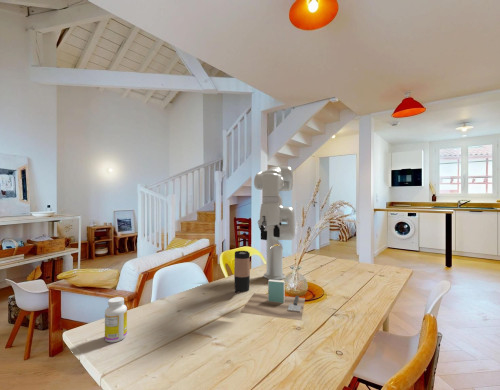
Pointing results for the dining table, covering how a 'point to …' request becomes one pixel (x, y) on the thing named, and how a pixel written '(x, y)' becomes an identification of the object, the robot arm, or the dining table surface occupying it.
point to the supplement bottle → (115, 320)
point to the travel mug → (242, 271)
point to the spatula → (294, 306)
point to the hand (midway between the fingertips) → (270, 238)
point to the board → (272, 307)
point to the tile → (276, 291)
